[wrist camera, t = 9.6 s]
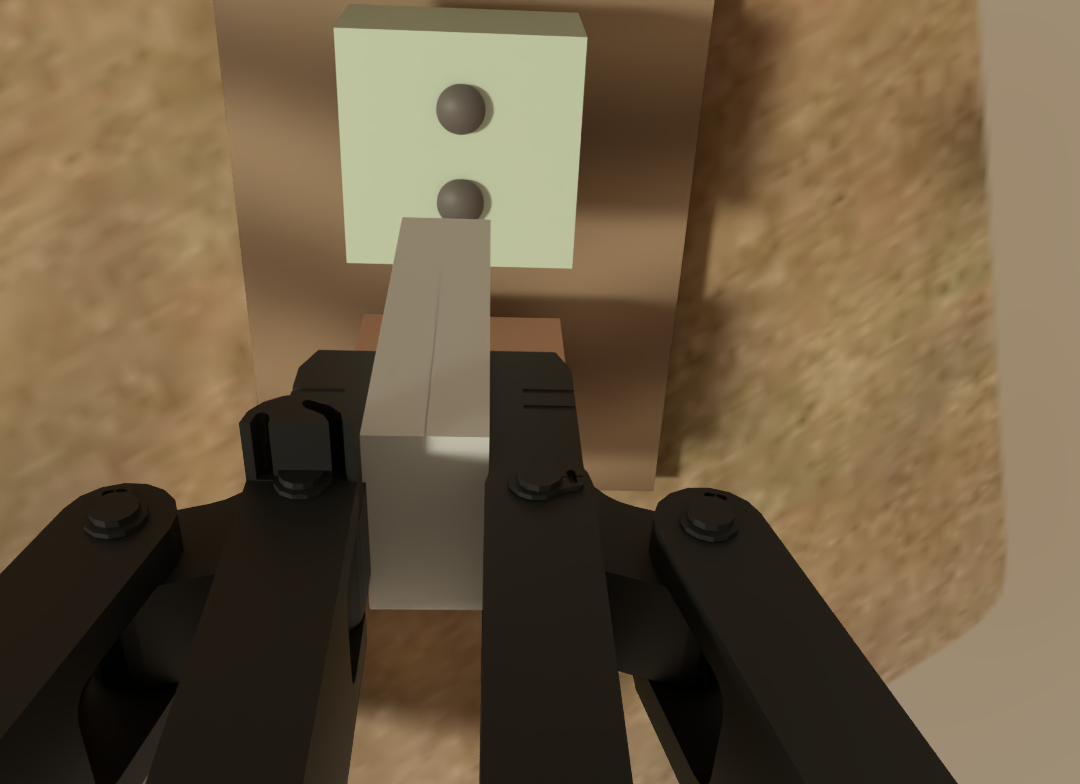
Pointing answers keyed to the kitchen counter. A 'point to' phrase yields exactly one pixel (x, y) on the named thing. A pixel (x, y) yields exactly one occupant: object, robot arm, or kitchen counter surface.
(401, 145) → the tile two
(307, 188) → the key board
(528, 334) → the tile three
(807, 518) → the kitchen counter surface
